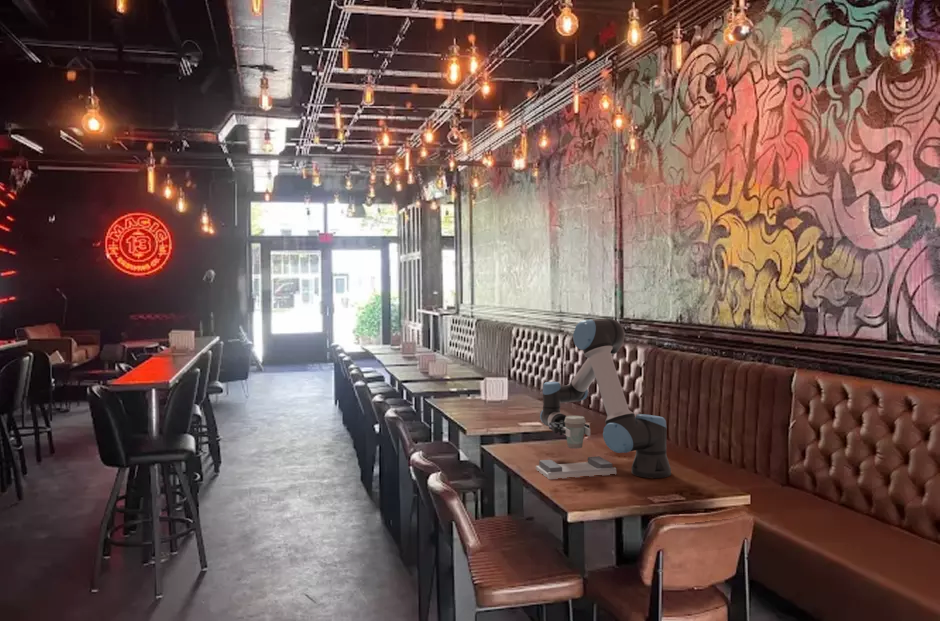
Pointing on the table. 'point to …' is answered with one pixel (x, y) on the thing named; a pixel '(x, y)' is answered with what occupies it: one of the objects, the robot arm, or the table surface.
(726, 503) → the table surface
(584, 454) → the table surface
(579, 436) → the coffee cup
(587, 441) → the table surface
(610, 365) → the robot arm
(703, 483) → the table surface
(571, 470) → the rail plate
